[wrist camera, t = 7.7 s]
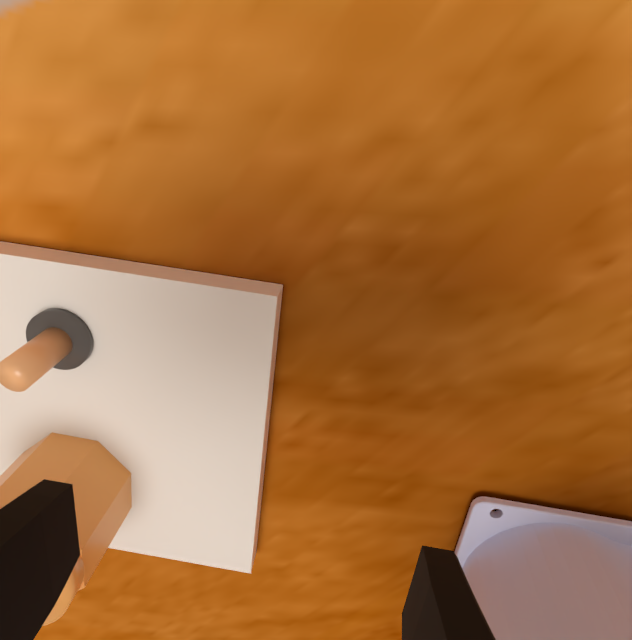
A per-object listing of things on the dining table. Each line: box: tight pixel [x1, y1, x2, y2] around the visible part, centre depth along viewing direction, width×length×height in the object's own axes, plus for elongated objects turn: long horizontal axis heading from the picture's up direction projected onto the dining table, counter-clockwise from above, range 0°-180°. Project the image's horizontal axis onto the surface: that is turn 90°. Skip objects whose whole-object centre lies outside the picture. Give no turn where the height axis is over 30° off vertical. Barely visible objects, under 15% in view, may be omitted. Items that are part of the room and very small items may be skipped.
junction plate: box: [0, 241, 283, 573], centre depth 20 cm, size 16×14×4 cm
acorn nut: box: [0, 432, 132, 626], centre depth 19 cm, size 5×5×6 cm
